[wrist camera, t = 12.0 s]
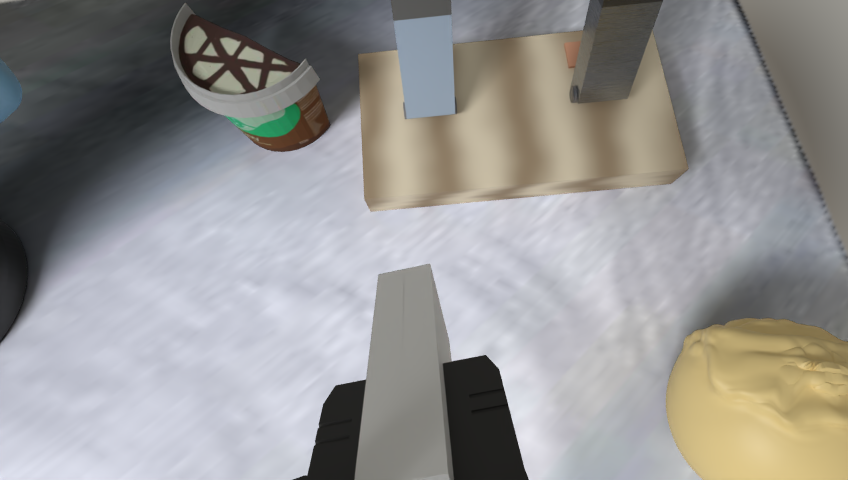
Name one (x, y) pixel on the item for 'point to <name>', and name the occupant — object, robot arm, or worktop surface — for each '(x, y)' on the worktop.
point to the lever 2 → (612, 48)
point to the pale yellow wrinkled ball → (761, 402)
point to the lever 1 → (425, 56)
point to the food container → (248, 84)
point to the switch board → (514, 128)
